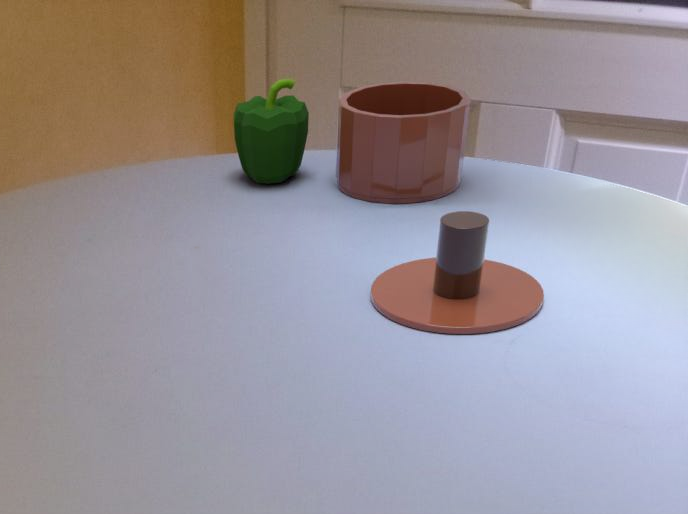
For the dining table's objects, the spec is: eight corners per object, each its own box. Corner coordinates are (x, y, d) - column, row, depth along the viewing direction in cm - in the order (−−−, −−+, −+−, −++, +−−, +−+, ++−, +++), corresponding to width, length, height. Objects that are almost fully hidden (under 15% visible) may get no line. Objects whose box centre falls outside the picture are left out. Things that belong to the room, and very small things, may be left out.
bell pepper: (231, 190, 110) (227, 92, 104) (238, 166, 116) (236, 72, 110) (305, 189, 109) (307, 90, 103) (309, 165, 115) (310, 70, 109)
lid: (517, 265, 91) (531, 184, 86) (562, 335, 81) (580, 248, 76) (359, 274, 92) (364, 194, 87) (382, 346, 81) (389, 259, 76)
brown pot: (446, 159, 114) (455, 78, 109) (471, 199, 104) (482, 112, 99) (330, 166, 115) (333, 85, 109) (344, 207, 105) (347, 120, 99)
